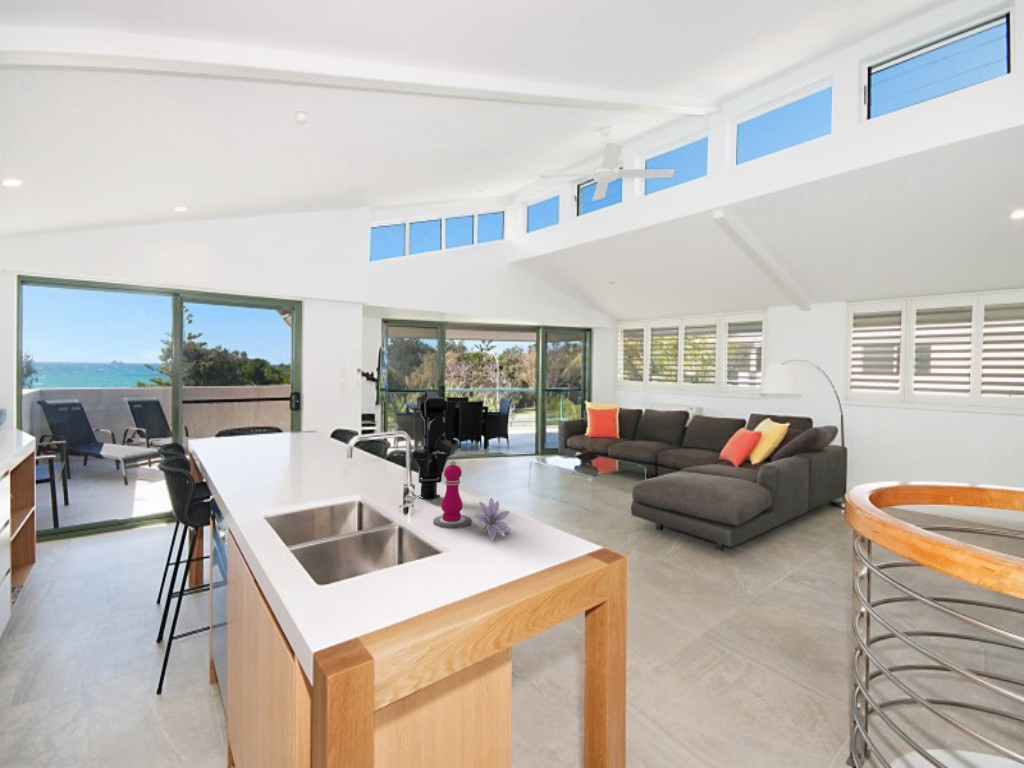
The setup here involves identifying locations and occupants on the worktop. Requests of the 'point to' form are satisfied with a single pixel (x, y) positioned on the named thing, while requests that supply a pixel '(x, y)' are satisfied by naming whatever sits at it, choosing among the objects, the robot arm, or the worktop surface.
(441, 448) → the robot arm
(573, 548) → the worktop surface
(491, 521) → the water lily
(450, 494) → the pepper mill
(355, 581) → the worktop surface
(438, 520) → the mat
